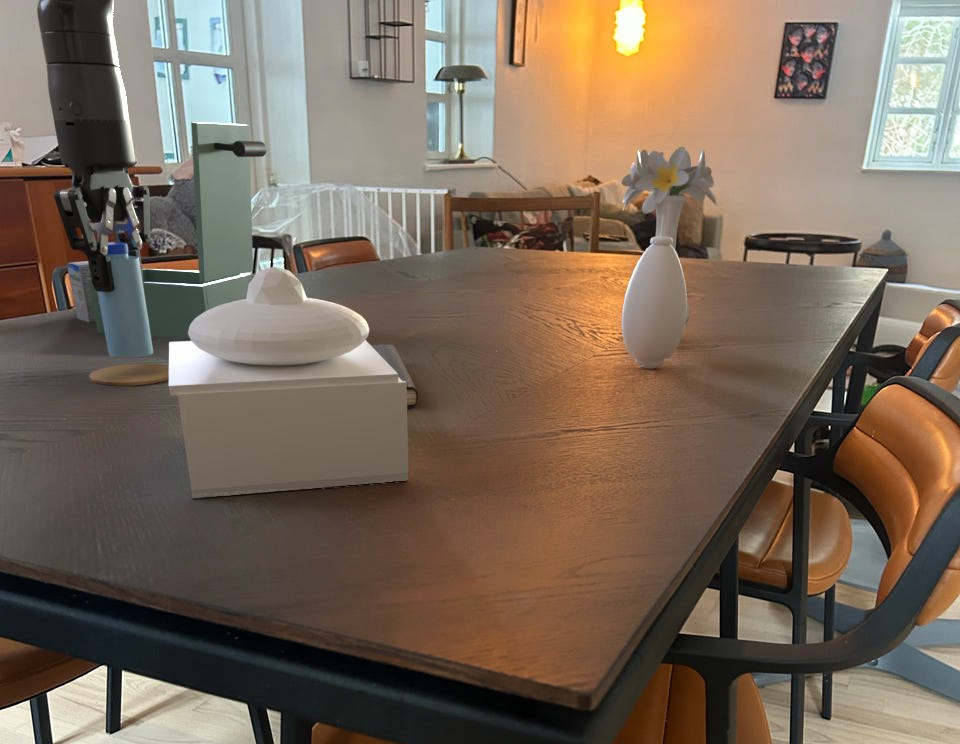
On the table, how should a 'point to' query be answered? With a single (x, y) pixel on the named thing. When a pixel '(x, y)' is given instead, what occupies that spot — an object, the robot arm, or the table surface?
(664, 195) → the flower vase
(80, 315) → the medicine box
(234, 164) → the lid
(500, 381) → the table surface
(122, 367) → the coaster
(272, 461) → the white knob-topped box
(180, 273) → the cool box
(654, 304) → the white teardrop bottle
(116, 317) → the water bottle
